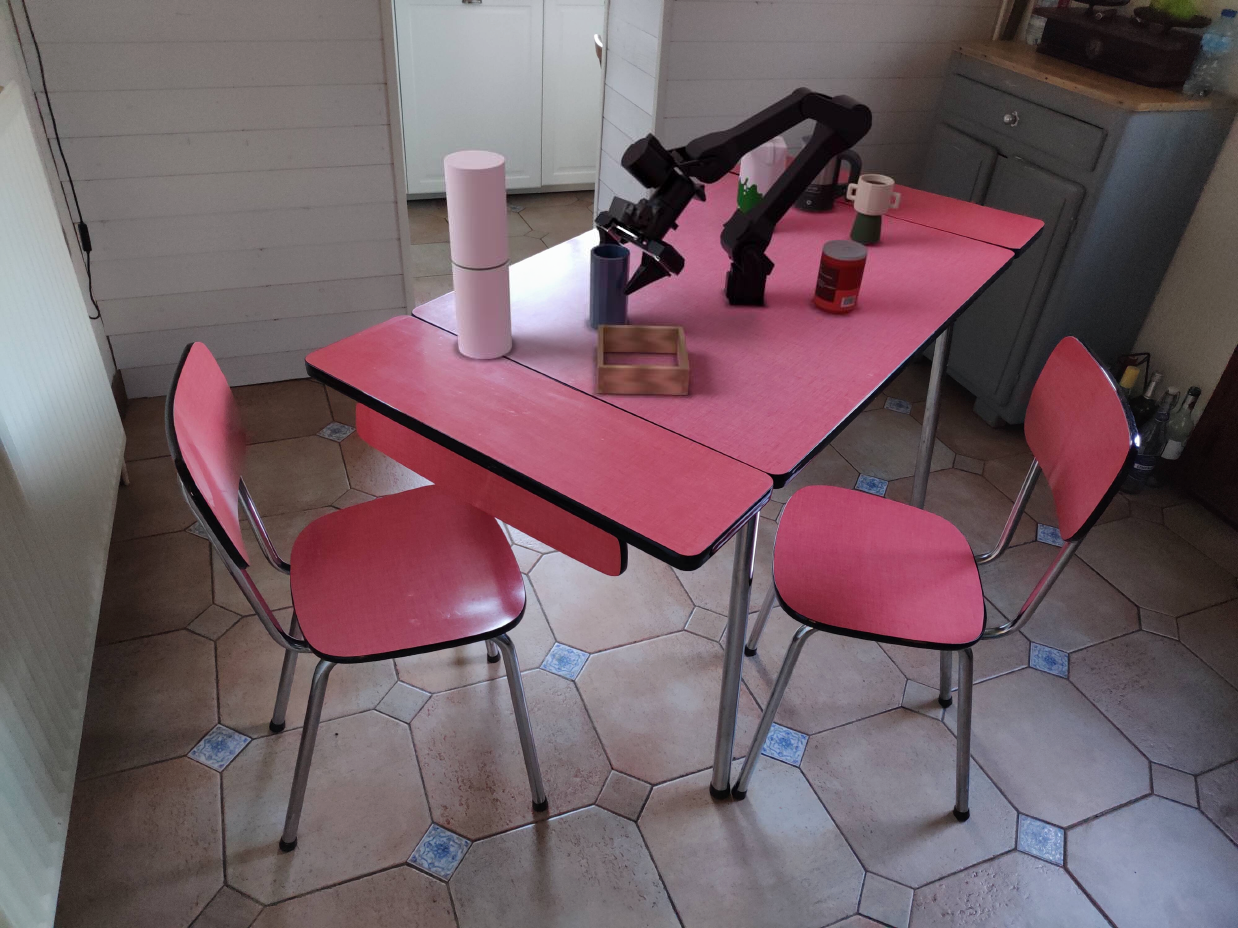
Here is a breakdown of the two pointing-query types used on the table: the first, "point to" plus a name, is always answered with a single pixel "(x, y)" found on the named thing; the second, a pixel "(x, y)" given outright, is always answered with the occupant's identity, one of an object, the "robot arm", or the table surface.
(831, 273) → the canned food
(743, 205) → the milk carton
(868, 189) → the character mug
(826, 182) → the milk frother
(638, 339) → the crate
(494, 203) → the container
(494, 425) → the table surface
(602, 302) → the tumbler
